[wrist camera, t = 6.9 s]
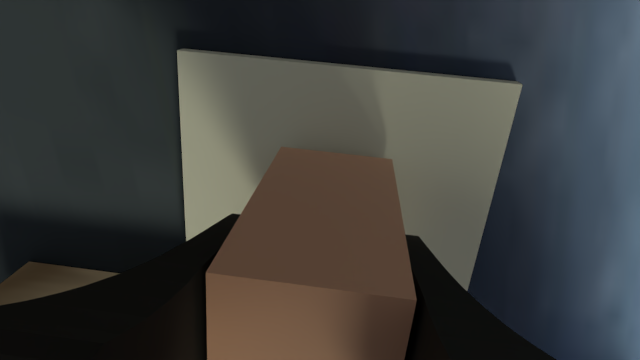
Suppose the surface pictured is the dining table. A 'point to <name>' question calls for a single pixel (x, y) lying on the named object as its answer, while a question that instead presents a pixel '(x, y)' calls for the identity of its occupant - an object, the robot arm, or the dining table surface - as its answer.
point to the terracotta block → (314, 265)
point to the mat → (346, 137)
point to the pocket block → (46, 281)
